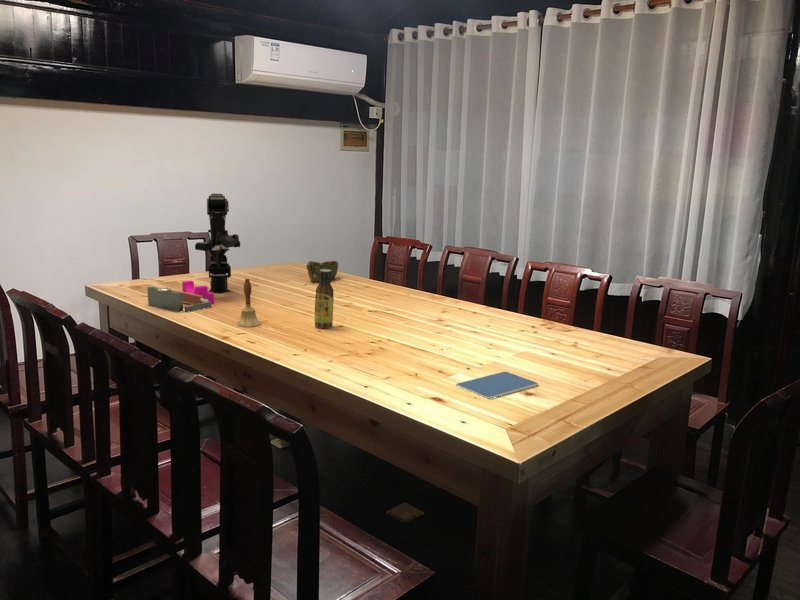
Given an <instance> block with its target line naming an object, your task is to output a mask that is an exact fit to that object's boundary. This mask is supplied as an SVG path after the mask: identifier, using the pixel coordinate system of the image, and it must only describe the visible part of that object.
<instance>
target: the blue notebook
mask: <svg viewBox="0 0 800 600" xmlns="http://www.w3.org/2000/svg"><path fill="white" fill-rule="evenodd" d="M455 385H456V386H459V387H461V388H463V389H466V390H468V391H470V392H473V393H475V394H477V395H479V396H482V397H484V398H487V399H491V398H494V397H498V396H501V395H504V396H507V395H506V394H508V395H510V394H509V393H511V394H514V392H515V393H517V391H518V392H521V390H522V391H524V390H525V391H526V390H528V388H529V389H531V388H532V389H533V388H536V387H538V386H539V383H538V382H536V381H533V380H531V379H527V378H525V377H523V376H520V375H516V374H514V373H513V372H512V373H511V372H508V371H501V372H498V373H497V372H496V373H494V374H489V375H486V376H481V377H479V378H478V377H477V378H474V379H470V380H466V381H462V382H458V383H456V384H455ZM456 386H455V387H456ZM535 386H536V387H535ZM463 389H462V390H463ZM470 392H469V393H470ZM477 395H476V396H477ZM479 396H478V397H479ZM501 397H502V396H501ZM484 398H483V399H484ZM498 398H499V397H498ZM491 400H492V399H491Z"/></svg>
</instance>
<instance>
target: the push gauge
mask: <svg viewBox="0 0 800 600" xmlns="http://www.w3.org/2000/svg"><path fill="white" fill-rule="evenodd" d="M171 290H173V289H172V287H168V286H167V287H166V286H165V287H164V286H163V287H156V286H147V305H148V306H151V307H155V308H159V309H162V308H163V310H168V311H170V312H171V311H172V312H176V313H182V312H181V311H183V312H185V313H189V312H188V311H190V312H194V311H193V310H195V311H199V310H198V309H200V310H203V308H205V309H208V307H209V308H212V305H211V302H210V301H209V302H204V303H198V304H190V305H185V306H184V302H183V297H182V293H181V292H176V291H171Z"/></svg>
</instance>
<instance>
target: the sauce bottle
mask: <svg viewBox="0 0 800 600" xmlns="http://www.w3.org/2000/svg"><path fill="white" fill-rule="evenodd" d="M319 275H320V281H319V283H318V285H317V287H316V289H315V296H314V302H315V303H314V326H315V327H316V328H318V329H329V328H330V327H331V328H332V327H333V320H334V291H335V290H334V288H333V286H332V284H331V282H332V281H330V279H331V270H327V269H322V270H319ZM331 328H330V329H331Z"/></svg>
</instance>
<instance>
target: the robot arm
mask: <svg viewBox="0 0 800 600" xmlns="http://www.w3.org/2000/svg"><path fill="white" fill-rule="evenodd" d="M229 205H230V204H229V200H228V198H226V197H225V195H224V194H222V193H210V195H209V196H208V198H206V211H207V212H206V213H207V216H208V219H209V225H210V229H208V230H207V231H208V233H210V239H209V240H208V241H206V242H205V241H200V242H199V241H198V242H196V243H195V244H194V247H195V249H194V250H197V251H203V252H207V251H208V253H210V255H211V256H210V258H209V261H210V262H209V263H208V278H209V279H210V282H209V283H210V289H208V292H211V293H216V292H217V294H220V293H225V292H230V291H231V289H230V288H228V284H229V283H228V279H229V278H232V269H231V268H232V266H231V265H230V263H228V258H227V255H226V253H227V252H228V251H230V248H240V247H241V242H240V239H239V235H238V234H237V233H235V234H231V235H230V234H229V231H228V230H227V229H226V221H227V220H226V219H227V217H226V216H228V213H229V211H230V210H229V209H230V208H229Z"/></svg>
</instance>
